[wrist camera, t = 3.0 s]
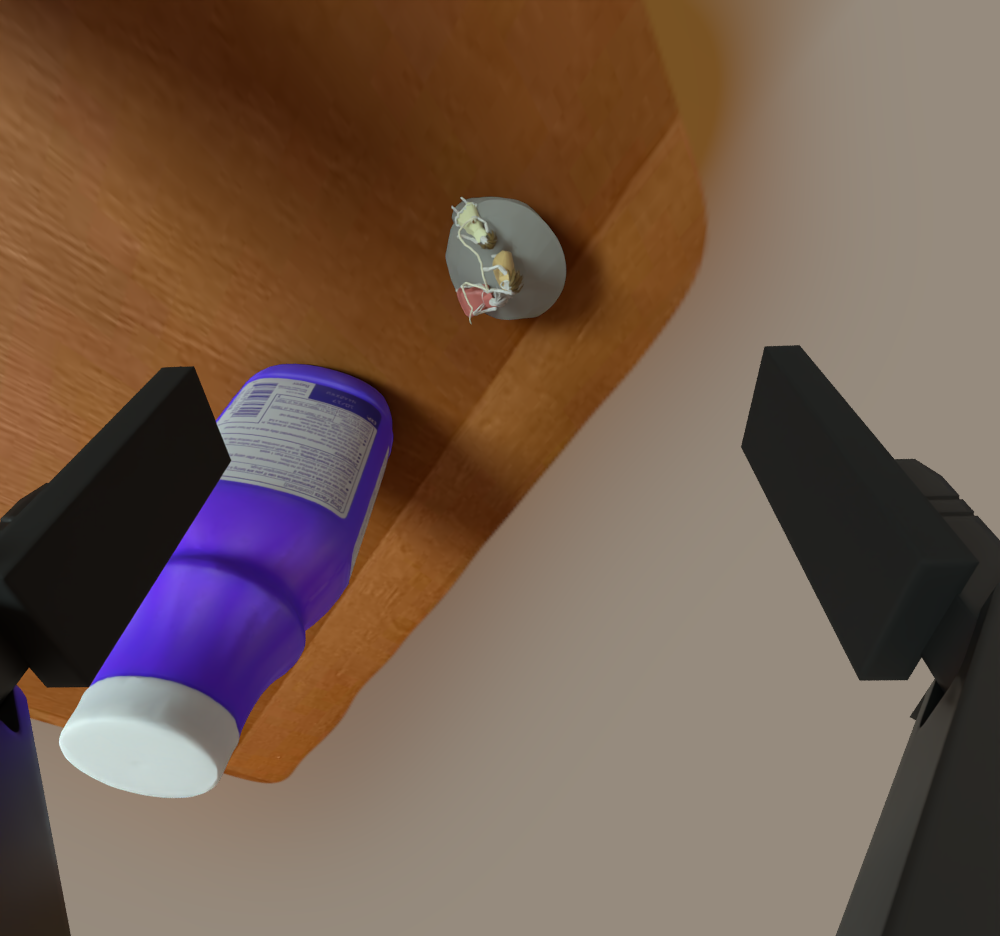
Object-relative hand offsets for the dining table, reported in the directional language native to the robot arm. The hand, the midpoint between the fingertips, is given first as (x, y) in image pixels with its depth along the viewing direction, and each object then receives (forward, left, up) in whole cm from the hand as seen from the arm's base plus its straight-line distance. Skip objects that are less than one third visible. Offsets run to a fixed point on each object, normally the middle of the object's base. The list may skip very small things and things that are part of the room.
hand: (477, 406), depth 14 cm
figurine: (0, 0, -13) cm, 13 cm away
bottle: (+9, +8, -13) cm, 17 cm away
